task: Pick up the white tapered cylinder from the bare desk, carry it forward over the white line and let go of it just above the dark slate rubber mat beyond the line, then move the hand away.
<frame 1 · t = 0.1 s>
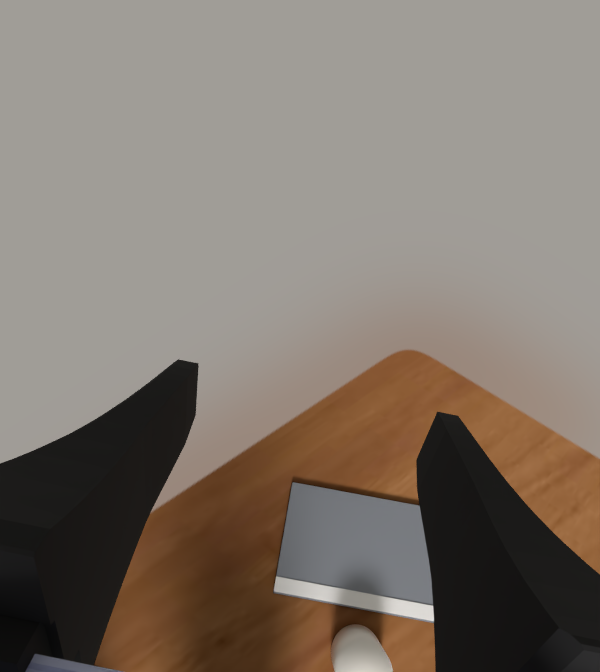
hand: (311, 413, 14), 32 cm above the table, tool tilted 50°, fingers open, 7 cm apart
white tapered cylinder: (355, 652, 40), on the table
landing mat: (368, 551, 42), on the table
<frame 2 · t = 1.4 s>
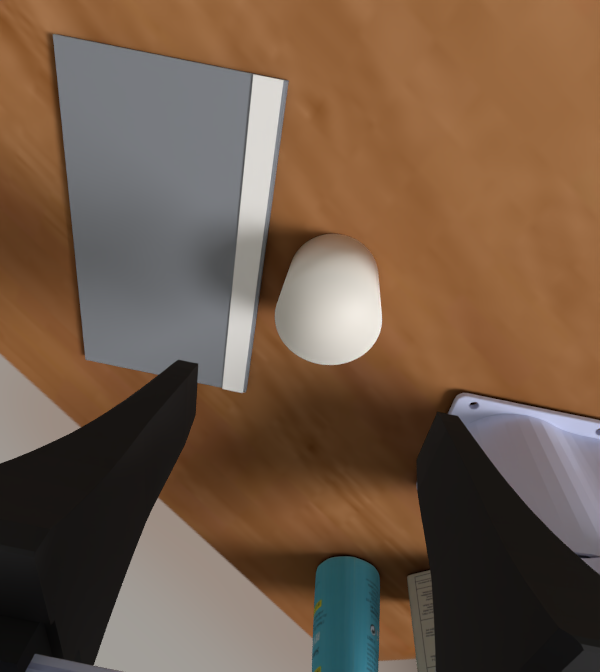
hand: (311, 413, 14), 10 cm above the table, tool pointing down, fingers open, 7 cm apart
tube: (345, 571, 35), on the table
white tapered cylinder: (333, 276, 23), on the table
skincare box: (456, 578, 34), on the table
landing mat: (170, 244, 23), on the table
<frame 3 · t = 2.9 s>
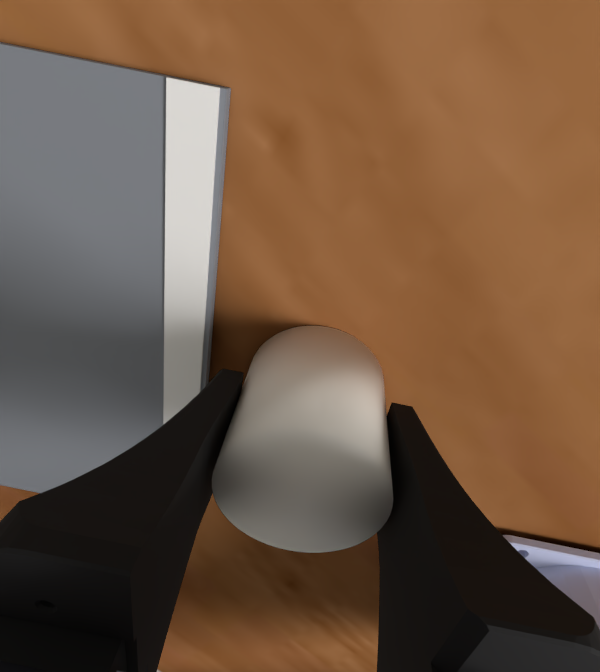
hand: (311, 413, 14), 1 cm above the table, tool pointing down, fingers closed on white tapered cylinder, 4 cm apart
white tapered cylinder: (315, 383, 15), on the table, touching gripper
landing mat: (67, 334, 15), on the table
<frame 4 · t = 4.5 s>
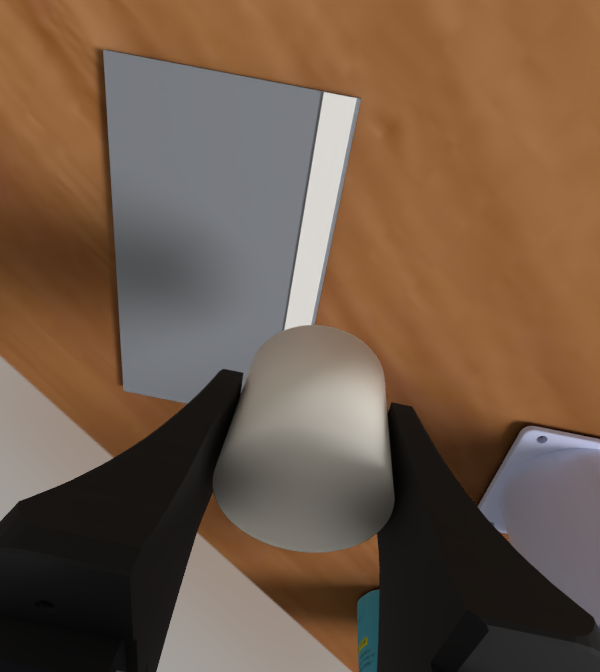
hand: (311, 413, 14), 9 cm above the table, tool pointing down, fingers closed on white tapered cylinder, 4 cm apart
tube: (388, 603, 34), on the table
white tapered cylinder: (316, 383, 15), point 7 cm above the table, touching gripper
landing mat: (219, 271, 21), on the table
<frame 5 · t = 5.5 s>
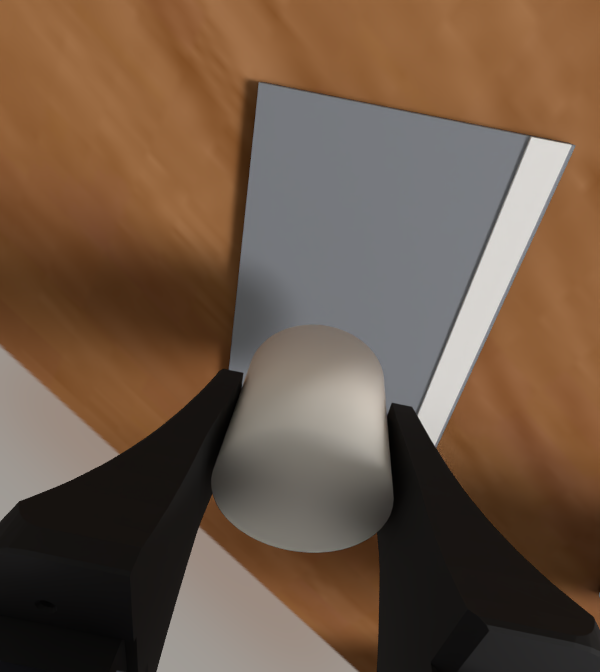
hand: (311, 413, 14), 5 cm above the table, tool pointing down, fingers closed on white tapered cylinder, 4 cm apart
white tapered cylinder: (315, 383, 15), point 4 cm above the table, touching gripper
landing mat: (354, 333, 18), on the table
when the fingers open (3 cm above the table, at t = 6.3 s): white tapered cylinder drops 2 cm, resting on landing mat.
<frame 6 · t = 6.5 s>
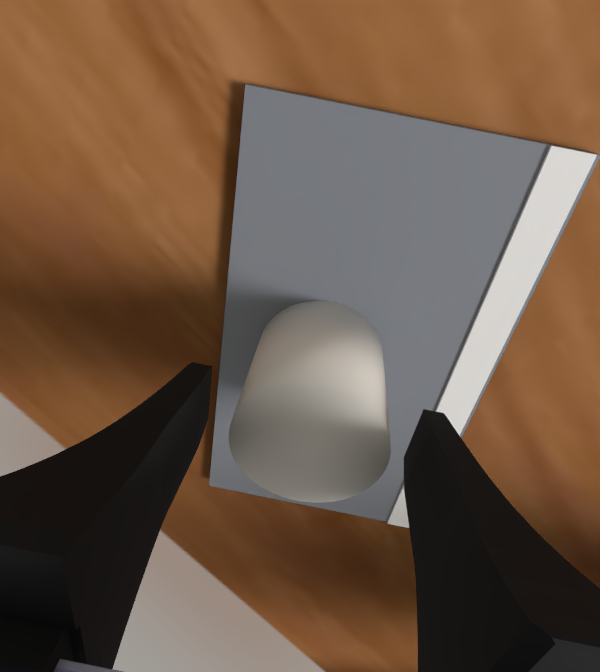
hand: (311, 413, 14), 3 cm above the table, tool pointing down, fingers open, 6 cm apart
white tapered cylinder: (319, 356, 16), resting on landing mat
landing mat: (353, 357, 16), on the table
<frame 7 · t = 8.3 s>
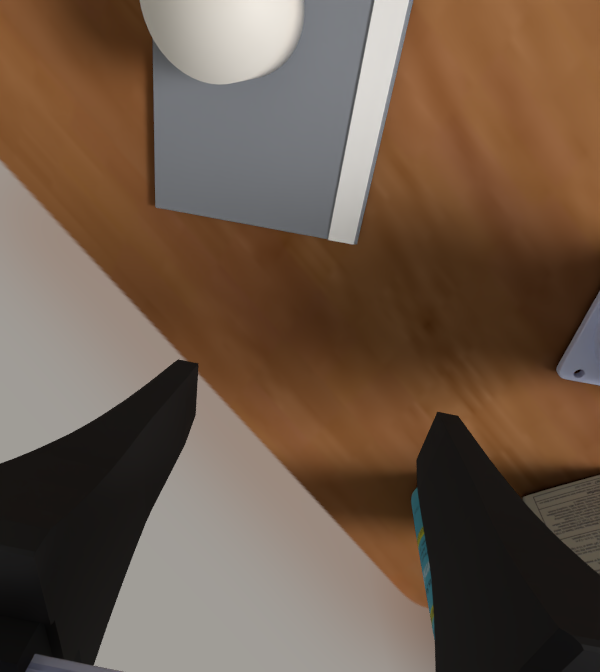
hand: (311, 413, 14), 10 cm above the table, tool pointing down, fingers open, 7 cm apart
tube: (445, 496, 30), on the table
white tapered cylinder: (245, 10, 17), resting on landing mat
skincare box: (580, 498, 29), on the table
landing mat: (279, 18, 17), on the table
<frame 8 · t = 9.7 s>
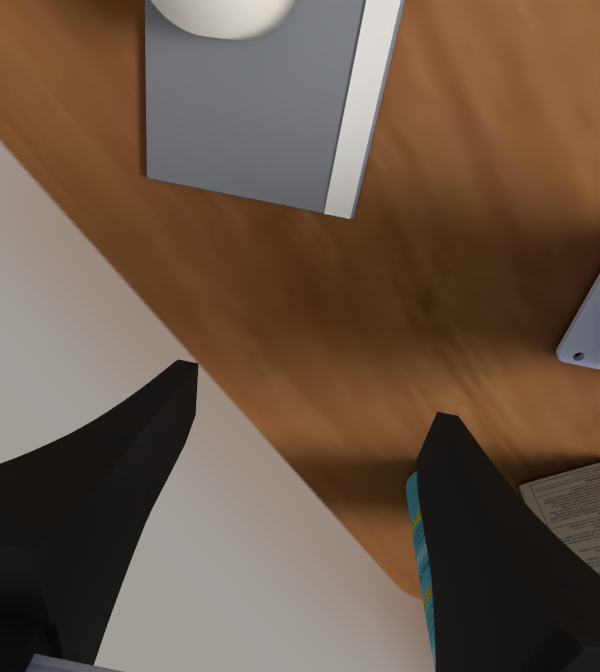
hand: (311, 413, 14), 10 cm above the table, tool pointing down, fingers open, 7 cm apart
tube: (441, 484, 29), on the table
skincare box: (577, 488, 28), on the table
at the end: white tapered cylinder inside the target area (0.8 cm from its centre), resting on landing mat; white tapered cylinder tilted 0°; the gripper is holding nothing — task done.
